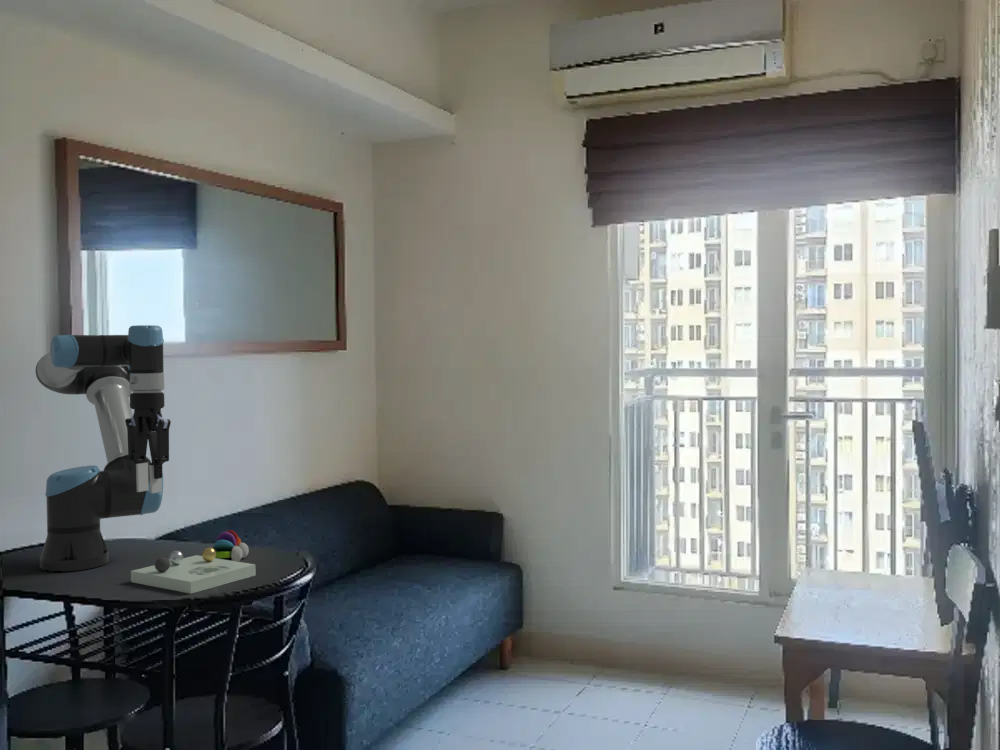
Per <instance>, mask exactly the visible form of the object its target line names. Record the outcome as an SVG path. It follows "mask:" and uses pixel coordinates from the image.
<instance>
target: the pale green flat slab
mask: <svg viewBox="0 0 1000 750" xmlns="http://www.w3.org/2000/svg"><path fill="white" fill-rule="evenodd" d="M256 571H257V570H256V564H254V563H249V562H242V561H238V562H237V561H232V560H229V559H225V558H221V559H219V558H215V559H214V560H212V561H209V562H208V561H205V560H204V559H203V558H202V555H199V554H198V555H197V554H196V555H192V556H187V557H184V558H183V561H182V562H181V563H180V564H178V565H173V564H171V563H170V567H169V569H168V570H167V571H165V572H159V571H157V570H156V568H155V564H154V565H150V566H145V567H142V568H137V569H133V570H130V582H131V583H135V584H140V585H144V586H148V587H149V586H150V587H155V588H161V589H164V590H171V591H174V592H175V591H176V592H180V593H186V594H194V593H198V592H201V591H205V590H209V589H212V588H217V587H219V586H224V585H226V584H229V583H235V582H237V581H240V580H241V581H242V580H244V579H248V578H251V577H255V576H256V575H257V574H256V573H257V572H256Z"/></svg>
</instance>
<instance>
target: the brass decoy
mask: <svg viewBox="0 0 1000 750" xmlns="http://www.w3.org/2000/svg"><path fill="white" fill-rule="evenodd" d="M210 547H211V546H209V547H206V548H204V549H203V550H202V552H201V556H202V558H203V559H204V560H205V561H208V562H209V561H212V560H214V559H215V557H216V551H215V550H214V549H213V548H210Z"/></svg>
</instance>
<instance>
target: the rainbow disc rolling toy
mask: <svg viewBox="0 0 1000 750" xmlns="http://www.w3.org/2000/svg"><path fill="white" fill-rule="evenodd" d="M209 547H210V548H213V549H214V550H215V551H216V557H215V558H218V559H227V558H228V559H229V558H231V561H237V562H241V560H242V558H243V559H245V558H247V556H248V555H249V550H250V549H249V545H247V544H246V543H245V542H242V540H241V538H240V537H239V535H238V534H237V533H236V532H235V531H234V530H226V531H223V532H221V533H220V534H218V536H217V538H216V541H215V542H214V545H211V546H209Z"/></svg>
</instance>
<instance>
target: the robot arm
mask: <svg viewBox="0 0 1000 750" xmlns="http://www.w3.org/2000/svg"><path fill="white" fill-rule="evenodd" d="M50 341H51V342H50V352H48V353H46V354H44V355H43V356H42V357H40V359H39V360H38V361H37V363H36V366H35V376H36V378H37V380H38V382H39V383H40V384H41V386H43V387H44V388H45V389H48V390H50V391H52V392H53V393H54V392H55V393H58V394H62V395H85V396H86V399H87V401H88V402H89V403H91V404H92V405H93V406H94V408H95V412H96V417H97V421H98V425H99V431H100V433H101V434H100V435H101V440H102V444H103V447H104V448H103V449H104V453H105V458H106V462H107V463H106V465H104V468H103V470H101V469H100V468H99V466H98V465H86V466H84V465H83V466H77V467H70V468H67V469H63V470H58V471H55V472H53V473H52V474H50V475H49V476H48V477H47V479H46V487H45V497H46V527H47V528H46V529H47V530H46V531H47V534H46V538H45V541H44V545H43V548H42V552H41V555H40V557H39V569H40V568H41V569H40V570H42V569H43V570H42V571H45V570H48V571H47V572H54V571H62V572H75V571H83V570H90V569H95V568H98V567H101V566H105V565H106V564H108V563H109V561H110V557H109V555H110V553H109V550H108V548H107V545H106V542H105V540H104V536H103V533H102V532H101V519H109V518H121V517H129V516H139V515H140V516H143V515H146V514H154V513H156V512H157V511H159V509H160V508H161V504H162V501H163V494H164V472H163V464H164V463H166V462H170V426H171V423H172V421H171V419H166V418H164V417H163V414H162V409H163V408H164V407H165V393H164V392H162V391H164V390H165V375H164V374H165V373H164V369H165V368H164V341H165V340H164V336H163V329H162V327H161V326H159V325H154V324H153V325H147V324H145V325H144V324H143V325H139V324H138V325H131V326H129V328H128V331H127V334H90V335H89V334H88V335H87V334H70V333H69V334H62V335H59V334H58V335H55V336H53V337H52V338H51V340H50ZM132 410H133V411H132ZM148 446H149V452H150V453H149V454H150V458H151V459H150V458H149V457H148V456H147V450H148Z"/></svg>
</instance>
